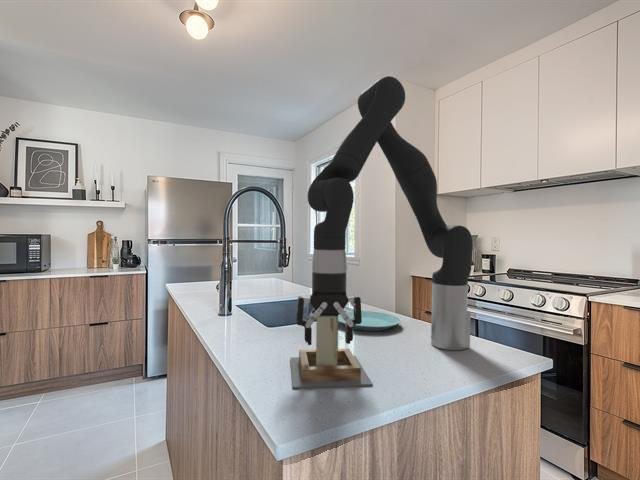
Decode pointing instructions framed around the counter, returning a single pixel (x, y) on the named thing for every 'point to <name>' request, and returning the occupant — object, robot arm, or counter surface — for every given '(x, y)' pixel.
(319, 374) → the collar
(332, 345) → the skincare box
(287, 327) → the counter surface
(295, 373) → the mat
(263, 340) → the counter surface
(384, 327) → the plate
